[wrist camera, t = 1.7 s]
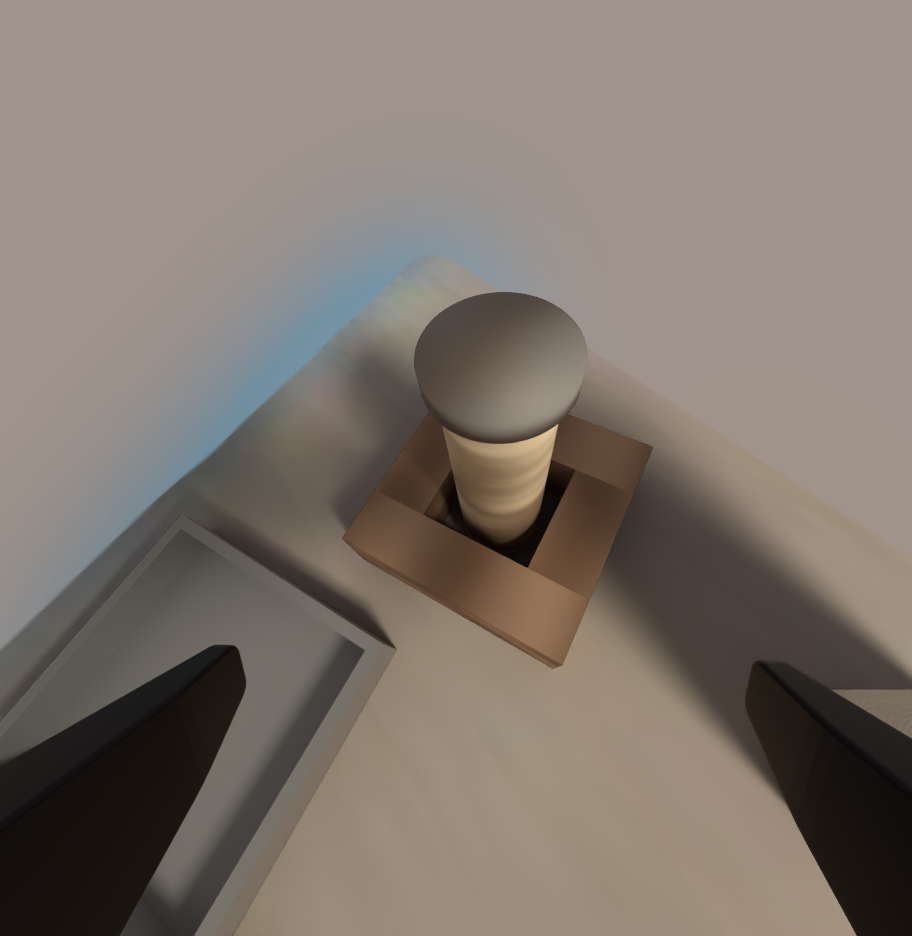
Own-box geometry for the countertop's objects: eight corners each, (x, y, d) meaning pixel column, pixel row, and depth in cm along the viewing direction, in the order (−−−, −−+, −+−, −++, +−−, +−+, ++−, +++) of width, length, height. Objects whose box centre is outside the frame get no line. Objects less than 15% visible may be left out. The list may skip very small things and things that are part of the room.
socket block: (633, 478, 24) (653, 447, 20) (553, 668, 20) (562, 665, 16) (461, 408, 27) (456, 372, 24) (363, 558, 23) (341, 538, 20)
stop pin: (558, 501, 23) (613, 319, 12) (520, 577, 22) (542, 451, 10) (482, 466, 25) (465, 275, 13) (441, 535, 23) (381, 384, 12)
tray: (396, 649, 21) (383, 644, 18) (205, 982, 16) (157, 1030, 14) (210, 529, 25) (181, 513, 22) (12, 767, 20) (-49, 777, 18)
